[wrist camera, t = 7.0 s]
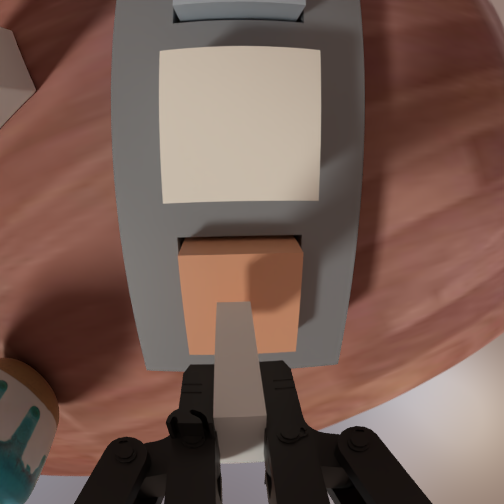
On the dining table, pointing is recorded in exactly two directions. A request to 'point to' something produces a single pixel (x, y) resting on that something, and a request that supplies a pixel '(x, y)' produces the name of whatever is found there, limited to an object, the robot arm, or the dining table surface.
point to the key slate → (238, 10)
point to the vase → (24, 428)
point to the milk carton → (12, 77)
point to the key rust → (242, 287)
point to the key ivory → (240, 124)
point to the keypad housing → (237, 212)
